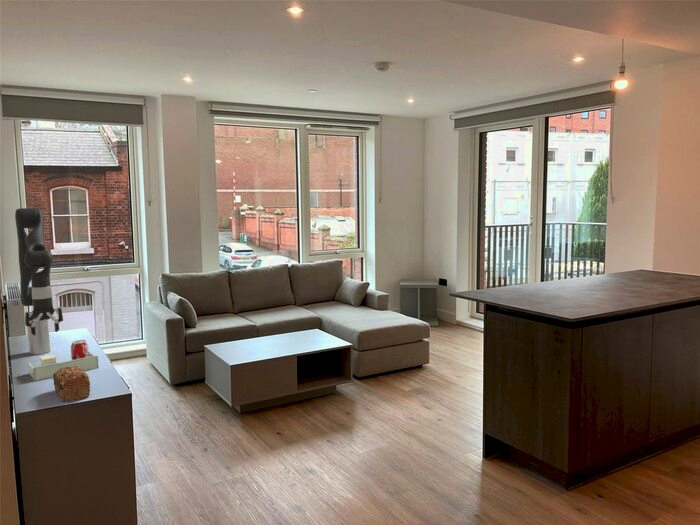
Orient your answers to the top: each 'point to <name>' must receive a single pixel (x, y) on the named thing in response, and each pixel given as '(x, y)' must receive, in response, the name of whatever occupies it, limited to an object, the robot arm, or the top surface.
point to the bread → (71, 383)
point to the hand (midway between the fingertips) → (45, 333)
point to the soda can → (79, 349)
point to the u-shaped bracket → (50, 369)
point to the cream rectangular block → (47, 360)
